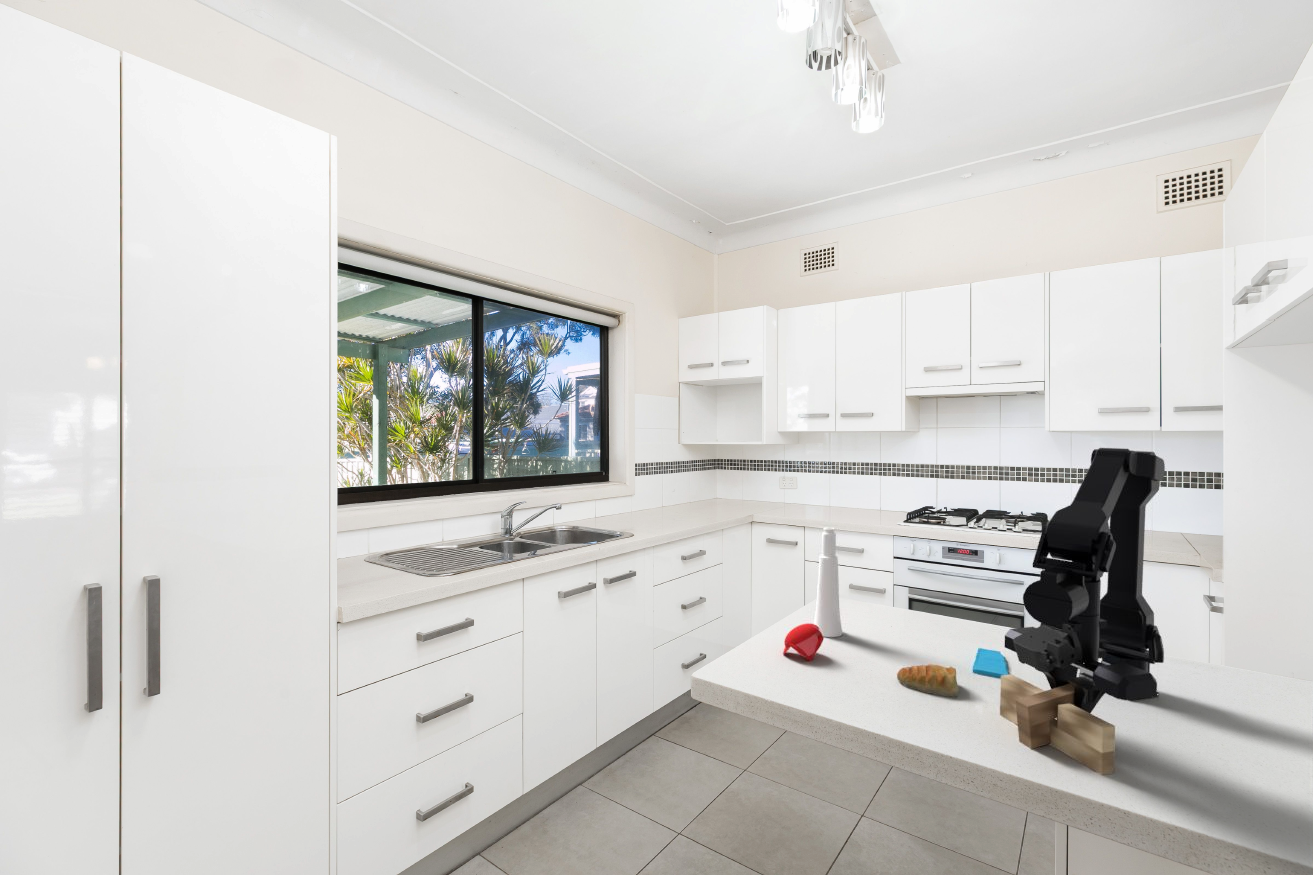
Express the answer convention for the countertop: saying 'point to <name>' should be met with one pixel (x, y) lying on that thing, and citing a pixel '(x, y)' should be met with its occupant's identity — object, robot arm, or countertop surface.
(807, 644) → the red rounded piece
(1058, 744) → the oak slot board
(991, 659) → the sponge
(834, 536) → the cosmetic bottle
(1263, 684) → the countertop surface
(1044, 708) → the walnut slot plate
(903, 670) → the pastry
